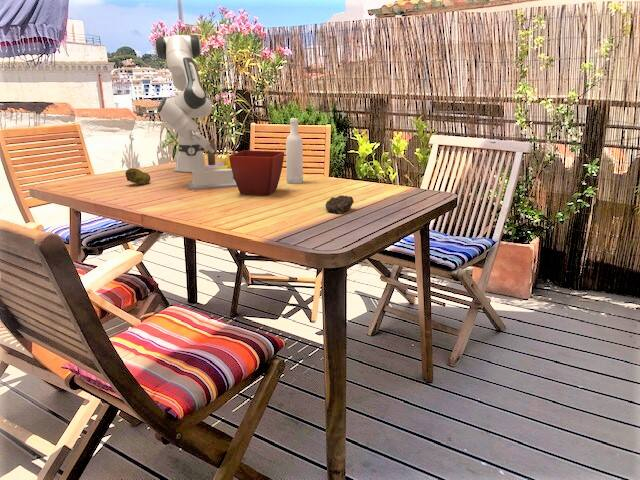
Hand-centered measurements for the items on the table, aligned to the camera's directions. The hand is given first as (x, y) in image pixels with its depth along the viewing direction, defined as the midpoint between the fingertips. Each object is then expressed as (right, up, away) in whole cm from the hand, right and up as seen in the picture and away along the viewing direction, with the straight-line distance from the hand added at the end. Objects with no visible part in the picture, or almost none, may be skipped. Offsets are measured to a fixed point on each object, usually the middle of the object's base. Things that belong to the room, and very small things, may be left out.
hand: (212, 151), depth 240 cm
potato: (-35, -15, +7) cm, 39 cm away
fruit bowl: (+6, -8, +29) cm, 31 cm away
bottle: (+37, -13, +12) cm, 41 cm away
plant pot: (+22, -20, -11) cm, 32 cm away
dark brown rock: (+56, -30, -44) cm, 77 cm away
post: (-1, -6, +1) cm, 6 cm away
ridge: (-1, -15, +4) cm, 16 cm away
